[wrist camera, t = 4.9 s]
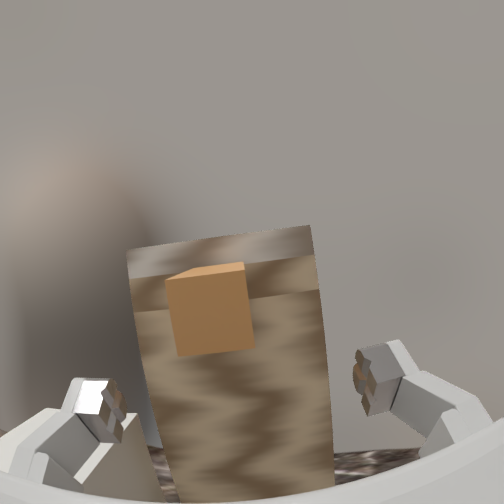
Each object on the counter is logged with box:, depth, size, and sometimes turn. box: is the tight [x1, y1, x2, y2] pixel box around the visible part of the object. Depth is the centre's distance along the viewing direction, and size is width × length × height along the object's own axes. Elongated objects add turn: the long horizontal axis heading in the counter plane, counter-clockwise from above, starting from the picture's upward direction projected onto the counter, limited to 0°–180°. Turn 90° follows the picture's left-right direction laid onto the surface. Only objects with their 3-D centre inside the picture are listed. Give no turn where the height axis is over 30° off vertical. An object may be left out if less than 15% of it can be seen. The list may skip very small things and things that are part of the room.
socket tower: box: [126, 225, 335, 503], centre depth 24 cm, size 12×10×28 cm
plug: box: [165, 262, 255, 357], centre depth 18 cm, size 3×13×3 cm, turn 1°
